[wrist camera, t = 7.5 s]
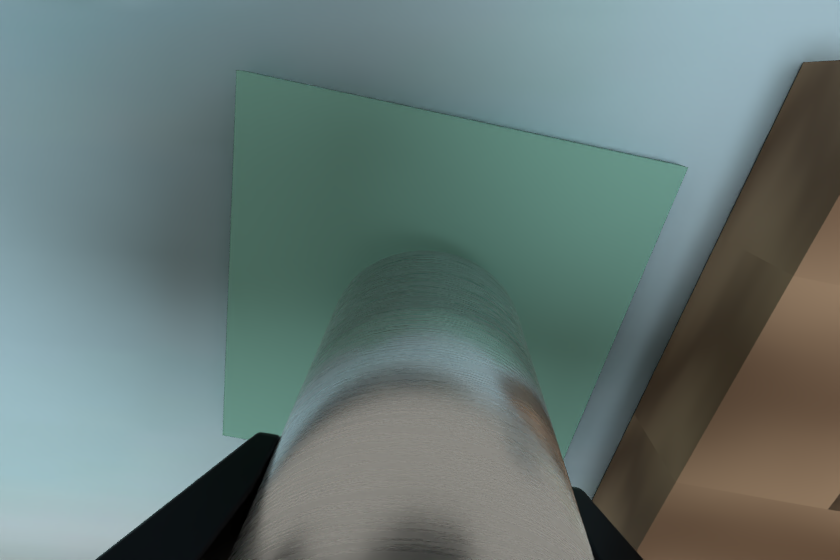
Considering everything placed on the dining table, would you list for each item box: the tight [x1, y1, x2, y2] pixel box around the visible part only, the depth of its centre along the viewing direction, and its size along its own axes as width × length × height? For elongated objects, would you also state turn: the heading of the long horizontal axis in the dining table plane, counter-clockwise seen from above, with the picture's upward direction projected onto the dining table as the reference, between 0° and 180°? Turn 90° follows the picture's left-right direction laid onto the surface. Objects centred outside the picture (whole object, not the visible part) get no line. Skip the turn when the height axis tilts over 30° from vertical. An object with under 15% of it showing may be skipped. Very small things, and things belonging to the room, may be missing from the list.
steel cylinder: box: [228, 251, 594, 560], centre depth 9 cm, size 5×5×8 cm
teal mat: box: [223, 70, 688, 459], centre depth 14 cm, size 12×12×1 cm
